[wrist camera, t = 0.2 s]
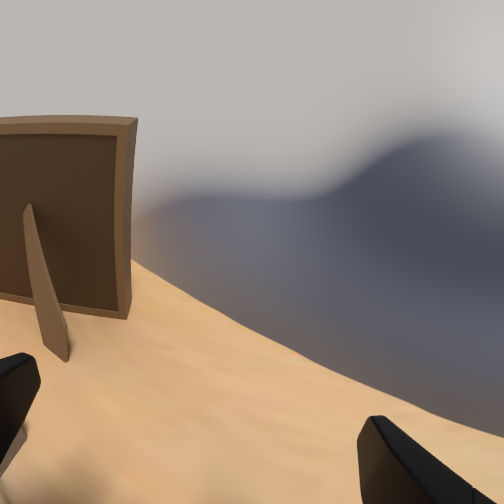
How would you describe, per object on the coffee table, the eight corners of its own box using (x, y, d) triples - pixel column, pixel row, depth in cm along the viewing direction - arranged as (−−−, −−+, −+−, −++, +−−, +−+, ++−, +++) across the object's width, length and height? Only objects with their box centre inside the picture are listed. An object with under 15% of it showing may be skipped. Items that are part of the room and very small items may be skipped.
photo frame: (6, 285, 38) (5, 119, 30) (131, 304, 43) (146, 121, 35) (-42, 335, 24) (-62, 119, 16) (111, 371, 29) (117, 109, 21)
